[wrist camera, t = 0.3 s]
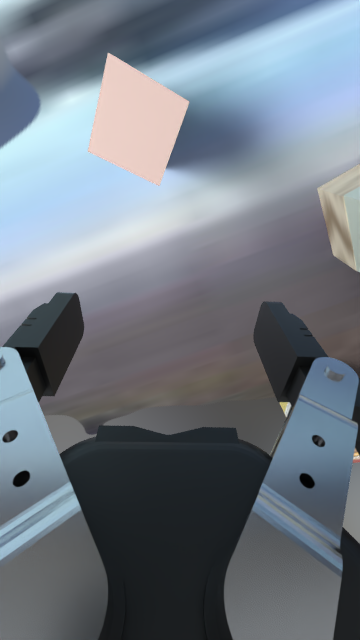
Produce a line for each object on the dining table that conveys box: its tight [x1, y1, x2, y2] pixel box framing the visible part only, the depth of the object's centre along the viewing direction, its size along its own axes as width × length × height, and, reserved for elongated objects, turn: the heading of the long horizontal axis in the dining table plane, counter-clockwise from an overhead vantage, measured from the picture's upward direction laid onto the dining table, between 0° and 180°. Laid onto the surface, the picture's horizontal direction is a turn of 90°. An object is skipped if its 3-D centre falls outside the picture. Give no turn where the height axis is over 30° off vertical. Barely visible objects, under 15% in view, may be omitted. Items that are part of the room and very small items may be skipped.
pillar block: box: [88, 53, 189, 186], centre depth 19 cm, size 4×4×12 cm
